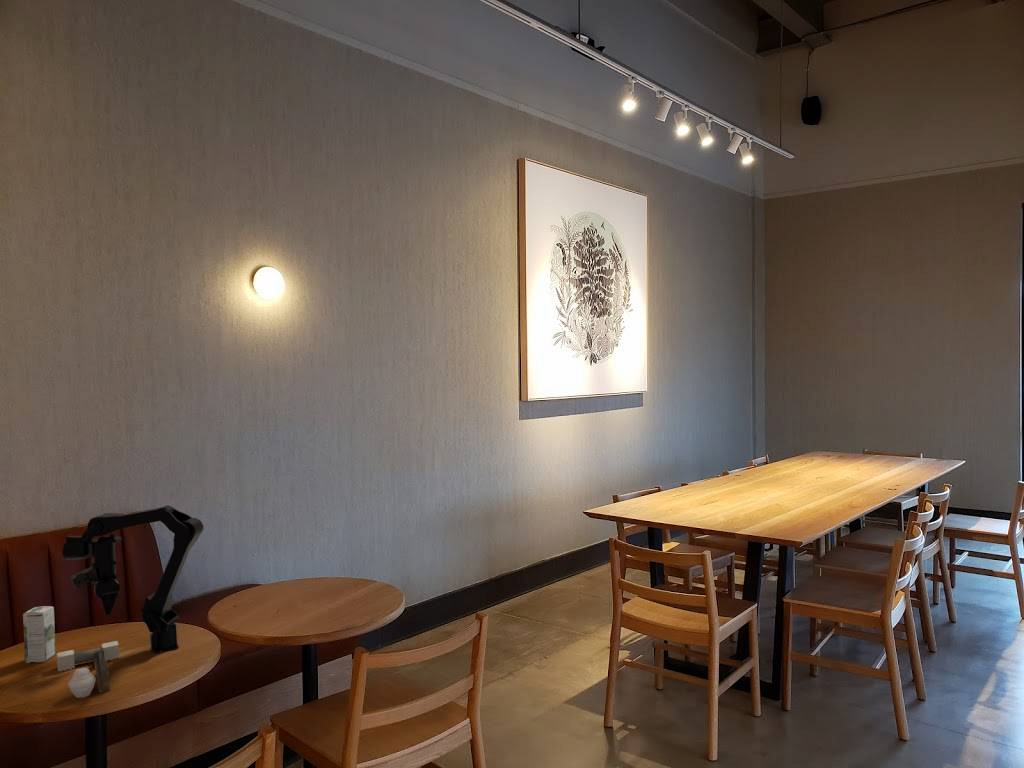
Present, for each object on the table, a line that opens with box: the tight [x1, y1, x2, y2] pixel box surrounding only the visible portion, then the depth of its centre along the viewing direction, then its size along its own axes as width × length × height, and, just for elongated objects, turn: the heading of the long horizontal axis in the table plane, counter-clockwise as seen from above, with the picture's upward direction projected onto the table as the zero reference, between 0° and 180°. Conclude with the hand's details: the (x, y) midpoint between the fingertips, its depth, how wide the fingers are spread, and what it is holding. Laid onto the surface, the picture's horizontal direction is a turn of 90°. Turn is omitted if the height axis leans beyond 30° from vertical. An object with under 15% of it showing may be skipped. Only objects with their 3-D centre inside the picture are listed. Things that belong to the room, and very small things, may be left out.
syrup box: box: [22, 605, 57, 664], centre depth 217 cm, size 6×6×14 cm
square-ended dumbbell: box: [56, 640, 120, 672], centre depth 213 cm, size 15×4×4 cm, turn 122°
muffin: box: [67, 667, 97, 699], centre depth 190 cm, size 6×6×7 cm
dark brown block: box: [93, 649, 111, 694], centre depth 201 cm, size 2×22×4 cm, turn 32°
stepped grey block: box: [96, 649, 107, 678], centre depth 197 cm, size 2×16×2 cm, turn 32°
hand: (106, 610), depth 221 cm, fingers open, 9 cm apart
